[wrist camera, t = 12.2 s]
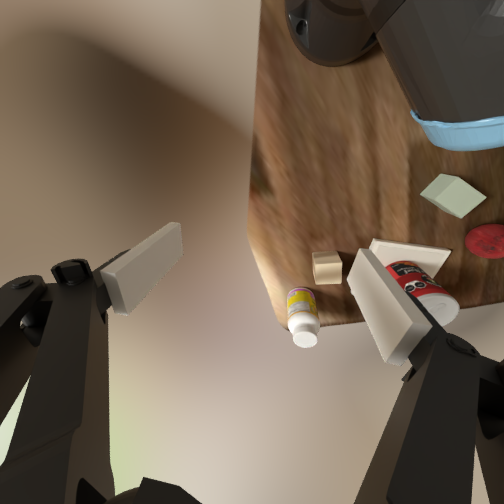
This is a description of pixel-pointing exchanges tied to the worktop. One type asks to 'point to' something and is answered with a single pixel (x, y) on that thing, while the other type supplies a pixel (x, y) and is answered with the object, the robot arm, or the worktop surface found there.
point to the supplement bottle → (303, 317)
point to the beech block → (327, 267)
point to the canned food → (425, 290)
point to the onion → (486, 241)
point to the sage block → (453, 195)
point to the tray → (410, 254)
